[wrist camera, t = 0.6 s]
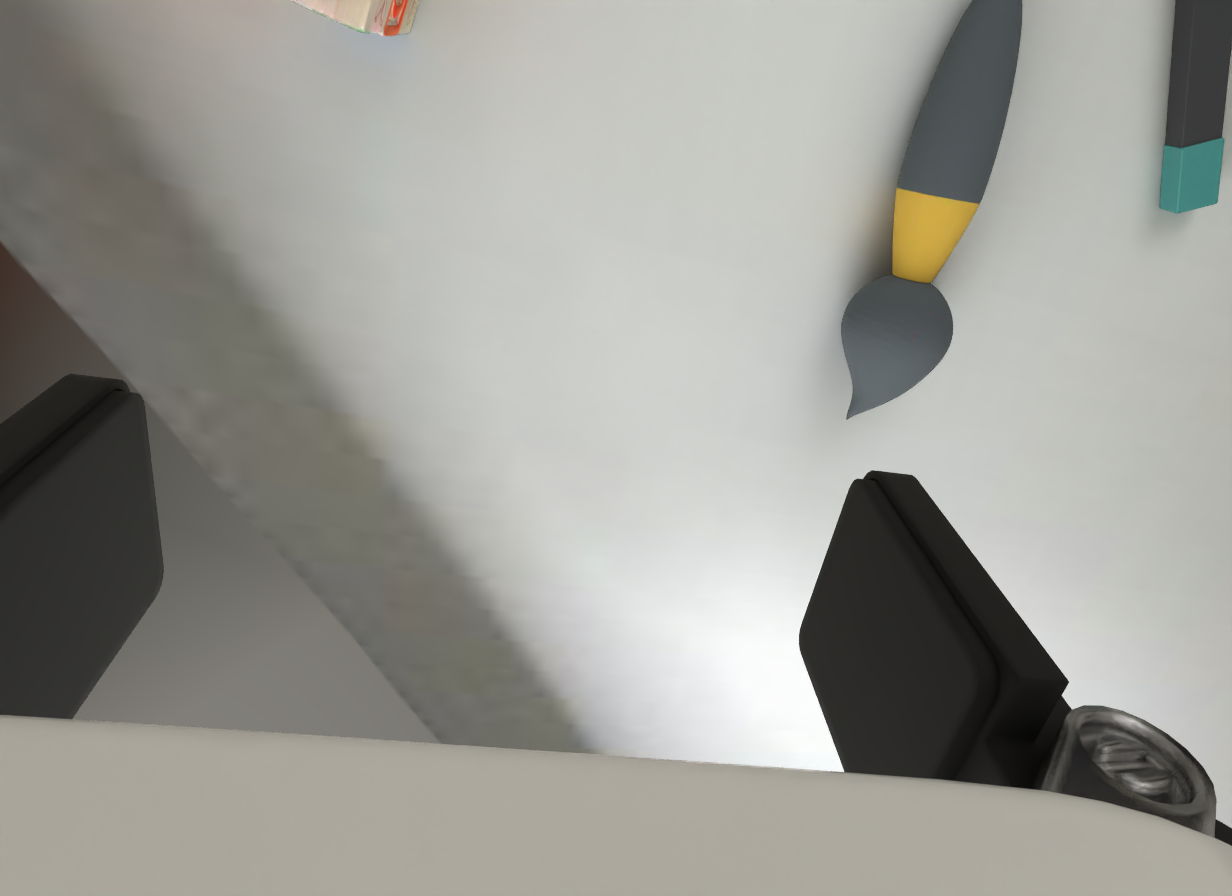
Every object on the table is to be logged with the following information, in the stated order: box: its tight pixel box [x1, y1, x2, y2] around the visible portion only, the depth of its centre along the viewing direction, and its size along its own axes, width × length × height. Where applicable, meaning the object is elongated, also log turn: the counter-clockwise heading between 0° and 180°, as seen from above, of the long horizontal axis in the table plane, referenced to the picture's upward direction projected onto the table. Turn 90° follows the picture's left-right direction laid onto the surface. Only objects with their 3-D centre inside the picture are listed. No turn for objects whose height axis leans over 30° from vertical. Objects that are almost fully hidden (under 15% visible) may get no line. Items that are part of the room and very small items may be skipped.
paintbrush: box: [841, 0, 1022, 419], centre depth 36 cm, size 20×5×5 cm, turn 175°
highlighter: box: [1160, 0, 1232, 213], centre depth 35 cm, size 14×2×1 cm, turn 14°
